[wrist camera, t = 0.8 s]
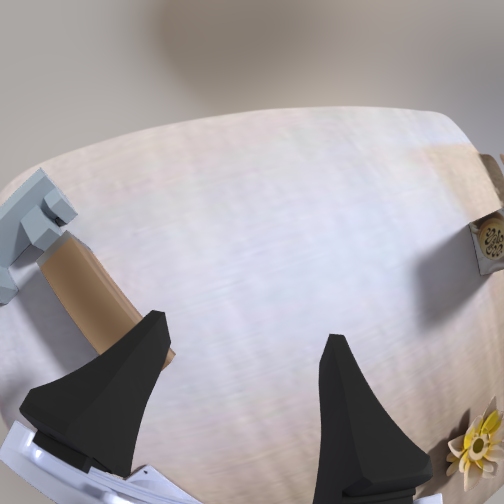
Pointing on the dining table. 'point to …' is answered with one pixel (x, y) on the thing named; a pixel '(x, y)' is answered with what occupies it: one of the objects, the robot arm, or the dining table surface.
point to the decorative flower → (479, 447)
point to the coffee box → (489, 241)
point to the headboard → (30, 224)
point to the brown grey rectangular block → (89, 293)
